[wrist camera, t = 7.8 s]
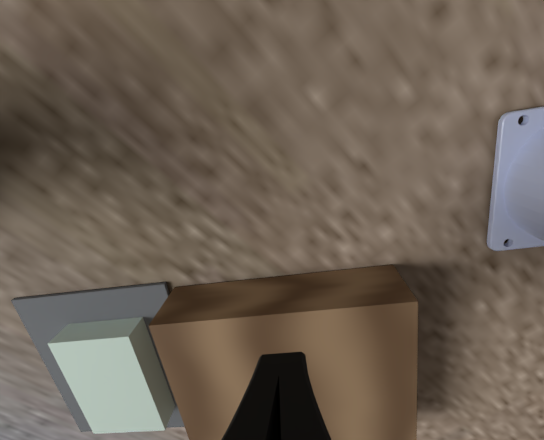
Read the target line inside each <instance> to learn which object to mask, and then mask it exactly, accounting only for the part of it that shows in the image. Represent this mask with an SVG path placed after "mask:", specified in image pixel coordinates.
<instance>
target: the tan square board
mask: <svg viewBox="0 0 544 440" xmlns="http://www.w3.org/2000/svg"><path fill="white" fill-rule="evenodd" d="M149 329H150V332H151V334H152V337H153V340H154V343H155V346H156V348H157V351H158V354H159V357H160V359H161V362H162V365H163V368H164V370H165V373H166V376H167V379H168V382H169V384H170V387H171V390H172V393H173V395H174V398H175V401H176V404H177V406H178V409H179V412H180V415H181V418H182V420H183V423H184V426H185V429H186V431H187V434H188V437H189V440H221V439H222V438H223V436H224V434H225V432H226V430H227V428H228V426H229V425H230V423H231V421H232V419H233V416H234V414H235V412H236V410H237V408H238V406H239V404H240V402H241V400H242V398H243V396H244V394H245V391H246V389H247V387H248V385H249V382H250V380H251V378H252V375H253V373H254V370H255V368H256V365H257V362H258V360H259V357H260V356H261V355H262V354H276V353H289V352H303V353H304V354H305V356H306V362H307V369H308V375H309V379H310V382H311V386H312V389H313V392H314V395H315V398H316V401H317V404H318V407H319V409H320V412H321V415H322V417H323V420H324V423H325V425H326V428H327V430H328V432H329V435H330V437H331V440H416V433H417V352H418V301H417V299H416V298H415V296H414V295H413V293H412V292H411V290H410V289H409V287H408V286H407V285H406V283H405V282H404V280H403V279H402V277H401V276H400V274H399V273H398V271H397V270H396V268H395V267H394V265H384V266H374V267H364V268H355V269H345V270H336V271H326V272H316V273H307V274H297V275H288V276H278V277H268V278H259V279H249V280H240V281H230V282H221V283H211V284H201V285H192V286H182V287H174V289H173V290H172V292H171V293H170V295H169V296H168V298H167V299H166V301H165V302H164V303H163V305H162V306H161V308H160V309H159V311H158V312H157V314H156V315H155V317H154V318H153V320H152V321H151V323H150V324H149Z"/></svg>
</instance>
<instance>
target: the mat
mask: <svg viewBox="0 0 544 440" xmlns="http://www.w3.org/2000/svg"><path fill="white" fill-rule="evenodd" d="M169 295H170V293H169V290H168V287H167V284H166V282H161V283H151V284H142V285H132V286H123V287H114V288H104V289H95V290H86V291H76V292H67V293H58V294H48V295H39V296H30V297H20V298H14V299H13V300H11V301H12V303H13V305H14V307H15V309H16V311H17V313H18V314H19V316H20V318H21V320H22V322H23V324H24V326H25V328H26V329H27V331H28V333H29V335H30V337H31V339H32V341H33V343H34V344H35V346H36V348H37V350H38V352H39V354H40V356H41V358H42V359H43V361H44V363H45V365H46V367H47V369H48V371H49V373H50V375H51V376H52V378H53V380H54V382H55V384H56V386H57V388H58V390H59V391H60V393H61V395H62V397H63V399H64V401H65V403H66V405H67V406H68V408H69V410H70V412H71V414H72V416H73V418H74V420H75V421H76V423H77V425H78V427H79V429H80V431H81V432H84V431H92V430H91V428H90V426H89V424H88V422H87V420H86V418H85V416H84V414H83V412H82V410H81V408H80V406H79V404H78V402H77V400H76V398H75V396H74V394H73V392H72V391H71V389H70V387H69V385H68V383H67V381H66V379H65V377H64V375H63V373H62V371H61V369H60V367H59V365H58V363H57V361H56V359H55V357H54V355H53V354H52V352H51V350H50V348H49V346H48V343H49V342H50V341H51V340H52V339H53V338H54V337H55V336H56V335H57V334H58V333H59V332H60V331H61V330H62V329H64V328H65V327H66V326H67V325H68V324H74V323H85V322H95V321H106V320H117V319H127V318H138V317H143V319H144V322H145V325H146V327H147V330H148V333H149V336H150V338H151V341H152V344H153V347H154V349H155V352H156V355H157V358H158V360H159V363H160V366H161V369H162V371H163V374H164V377H165V380H166V382H167V385H168V388H169V391H170V393H171V396H172V399H173V402H174V404H175V407H174V410H173V412H172V415H171V417H170V420H169V422H168V425H167V427H185V426H184V423H183V420H182V418H181V415H180V412H179V409H178V406H177V404H176V401H175V398H174V395H173V393H172V390H171V387H170V384H169V382H168V379H167V376H166V373H165V370H164V368H163V365H162V362H161V359H160V357H159V354H158V351H157V348H156V346H155V343H154V340H153V337H152V334H151V332H150V329H149V324H150V323H151V321H152V320H153V318H154V317H155V315H156V314H157V312H158V311H159V309H160V308H161V306H162V305H163V303H164V302H165V301H166V299H167V298H168V296H169Z"/></svg>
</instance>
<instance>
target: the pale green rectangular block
mask: <svg viewBox="0 0 544 440" xmlns="http://www.w3.org/2000/svg"><path fill="white" fill-rule="evenodd" d="M48 346H49V348H50V350H51V352H52V354H53V355H54V357H55V359H56V361H57V363H58V365H59V367H60V369H61V371H62V373H63V375H64V377H65V379H66V381H67V383H68V385H69V387H70V389H71V391H72V392H73V394H74V396H75V398H76V400H77V402H78V404H79V406H80V408H81V410H82V412H83V414H84V416H85V418H86V420H87V422H88V424H89V426H90V428H91V430H92V431H93V433H94V434H98V433H120V432H141V431H162V430H166V427H167V425H168V422H169V420H170V417H171V415H172V412H173V410H174V407H175V404H174V402H173V399H172V396H171V393H170V391H169V388H168V385H167V382H166V380H165V377H164V374H163V371H162V369H161V366H160V363H159V360H158V358H157V355H156V352H155V349H154V347H153V344H152V341H151V338H150V336H149V333H148V330H147V327H146V325H145V322H144V319H143V317H138V318H127V319H117V320H106V321H95V322H85V323H74V324H68V325H67V326H66V327H65V328H64V329H62V330H61V331H60V332H59V333H58V334H57V335H56V336H55V337H54V338H53V339H52V340H51V341H50V342H49V343H48Z"/></svg>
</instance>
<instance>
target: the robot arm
mask: <svg viewBox="0 0 544 440" xmlns="http://www.w3.org/2000/svg"><path fill="white" fill-rule="evenodd" d="M521 116H523V121H522V123H521V124H518V119H519V118H520V117H521ZM506 239H508V242H507V243H505V244H503V243H504V241H505V240H506ZM487 246H488V247H489V248H491V249H492V250H494V251H502V250H512V249H521V248H531V247H540V246H544V106H543V107H537V108H530V109H524V110H517V111H511V112H507V113H505V114H504V115H502V116H501V118H500V119H499V122H498V131H497V141H496V151H495V162H494V172H493V182H492V193H491V203H490V214H489V224H488V234H487ZM221 440H331V437H330V435H329V432H328V430H327V428H326V425H325V423H324V420H323V417H322V415H321V412H320V409H319V407H318V404H317V401H316V398H315V395H314V392H313V389H312V386H311V382H310V379H309V375H308V369H307V362H306V356H305V354H304V353H303V352H289V353H276V354H262V355H261V356H260V357H259V360H258V362H257V365H256V368H255V370H254V373H253V375H252V378H251V380H250V382H249V385H248V387H247V389H246V391H245V394H244V396H243V398H242V400H241V402H240V404H239V406H238V408H237V410H236V412H235V414H234V416H233V419H232V421H231V423H230V425H229V426H228V428H227V430H226V432H225V434H224V436H223V438H222V439H221Z"/></svg>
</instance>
